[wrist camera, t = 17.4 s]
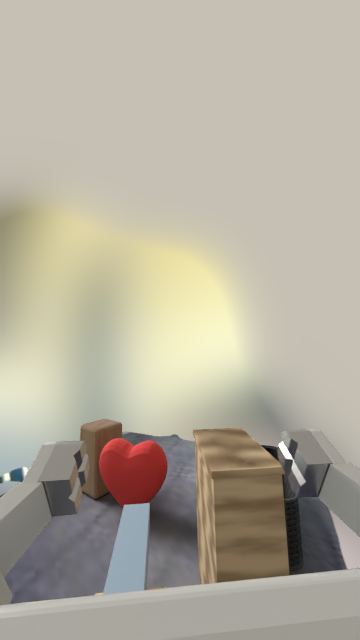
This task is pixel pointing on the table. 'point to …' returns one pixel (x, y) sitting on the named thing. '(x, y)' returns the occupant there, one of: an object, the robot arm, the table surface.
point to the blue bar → (130, 551)
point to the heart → (133, 470)
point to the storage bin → (290, 518)
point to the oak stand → (238, 508)
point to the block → (97, 452)
